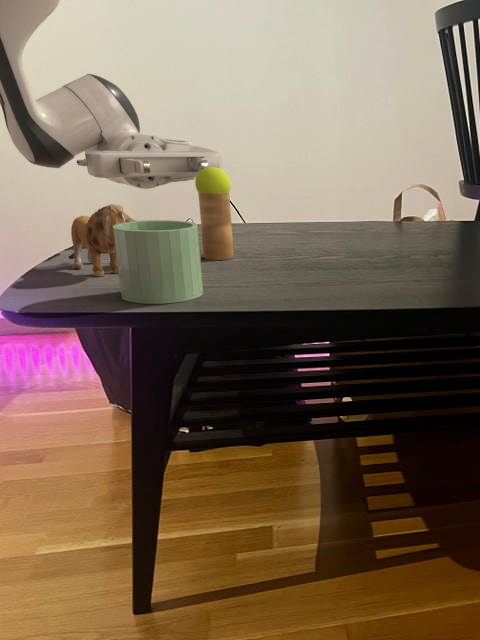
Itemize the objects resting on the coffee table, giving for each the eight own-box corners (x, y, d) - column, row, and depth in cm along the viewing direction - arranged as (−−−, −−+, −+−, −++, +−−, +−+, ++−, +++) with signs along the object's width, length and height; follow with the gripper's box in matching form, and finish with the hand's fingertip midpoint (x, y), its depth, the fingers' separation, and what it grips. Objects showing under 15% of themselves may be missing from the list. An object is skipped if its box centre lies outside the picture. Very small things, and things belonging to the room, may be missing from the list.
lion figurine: (150, 275, 91) (142, 204, 88) (110, 281, 86) (100, 207, 84) (88, 259, 98) (79, 194, 95) (48, 265, 94) (37, 196, 91)
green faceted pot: (126, 307, 76) (117, 232, 73) (117, 290, 82) (108, 221, 80) (210, 299, 80) (204, 229, 77) (195, 284, 87) (189, 219, 84)
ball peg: (205, 261, 100) (197, 167, 96) (198, 255, 104) (190, 165, 100) (239, 259, 103) (233, 168, 99) (231, 253, 107) (225, 165, 103)
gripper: (69, 140, 109) (101, 145, 100) (197, 141, 123) (236, 145, 114) (75, 182, 111) (107, 190, 102) (201, 178, 125) (239, 185, 116)
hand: (176, 166), depth 108 cm, fingers open, 8 cm apart
